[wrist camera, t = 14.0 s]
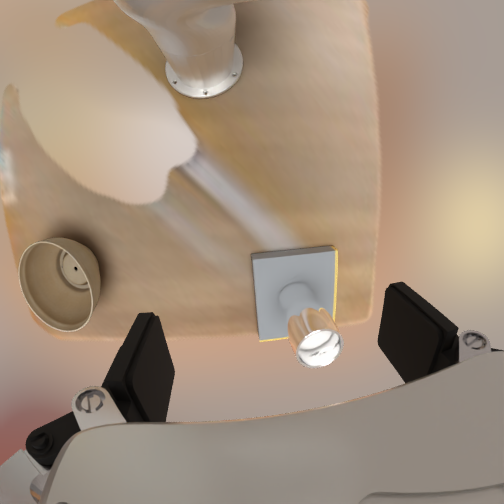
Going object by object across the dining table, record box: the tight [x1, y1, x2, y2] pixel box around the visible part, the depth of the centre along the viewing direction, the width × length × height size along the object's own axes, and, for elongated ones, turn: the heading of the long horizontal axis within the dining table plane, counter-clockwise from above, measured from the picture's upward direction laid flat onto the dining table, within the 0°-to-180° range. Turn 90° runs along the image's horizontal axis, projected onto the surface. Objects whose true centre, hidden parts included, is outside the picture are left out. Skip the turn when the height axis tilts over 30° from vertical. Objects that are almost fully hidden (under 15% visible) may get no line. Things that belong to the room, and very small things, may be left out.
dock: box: [251, 246, 338, 342], centre depth 49 cm, size 17×15×3 cm
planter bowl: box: [18, 238, 101, 332], centre depth 41 cm, size 16×16×11 cm
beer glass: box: [279, 282, 344, 368], centre depth 41 cm, size 7×7×15 cm
